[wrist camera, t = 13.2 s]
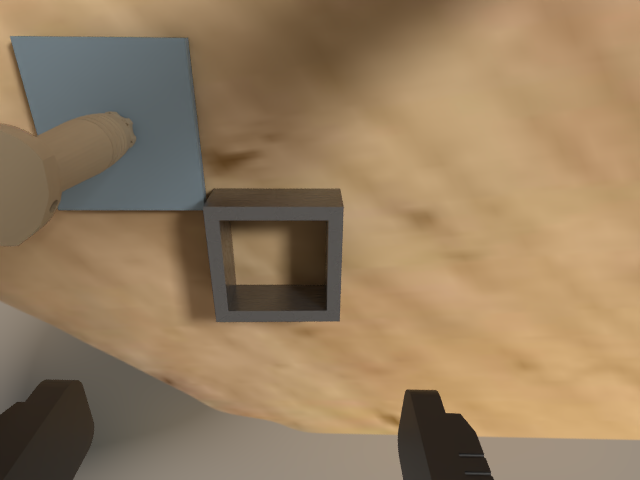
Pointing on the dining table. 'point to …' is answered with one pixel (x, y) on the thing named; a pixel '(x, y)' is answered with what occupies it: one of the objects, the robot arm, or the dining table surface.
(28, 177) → the handle
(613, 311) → the dining table surface
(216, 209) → the socket block
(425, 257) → the dining table surface
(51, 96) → the rubber mat
